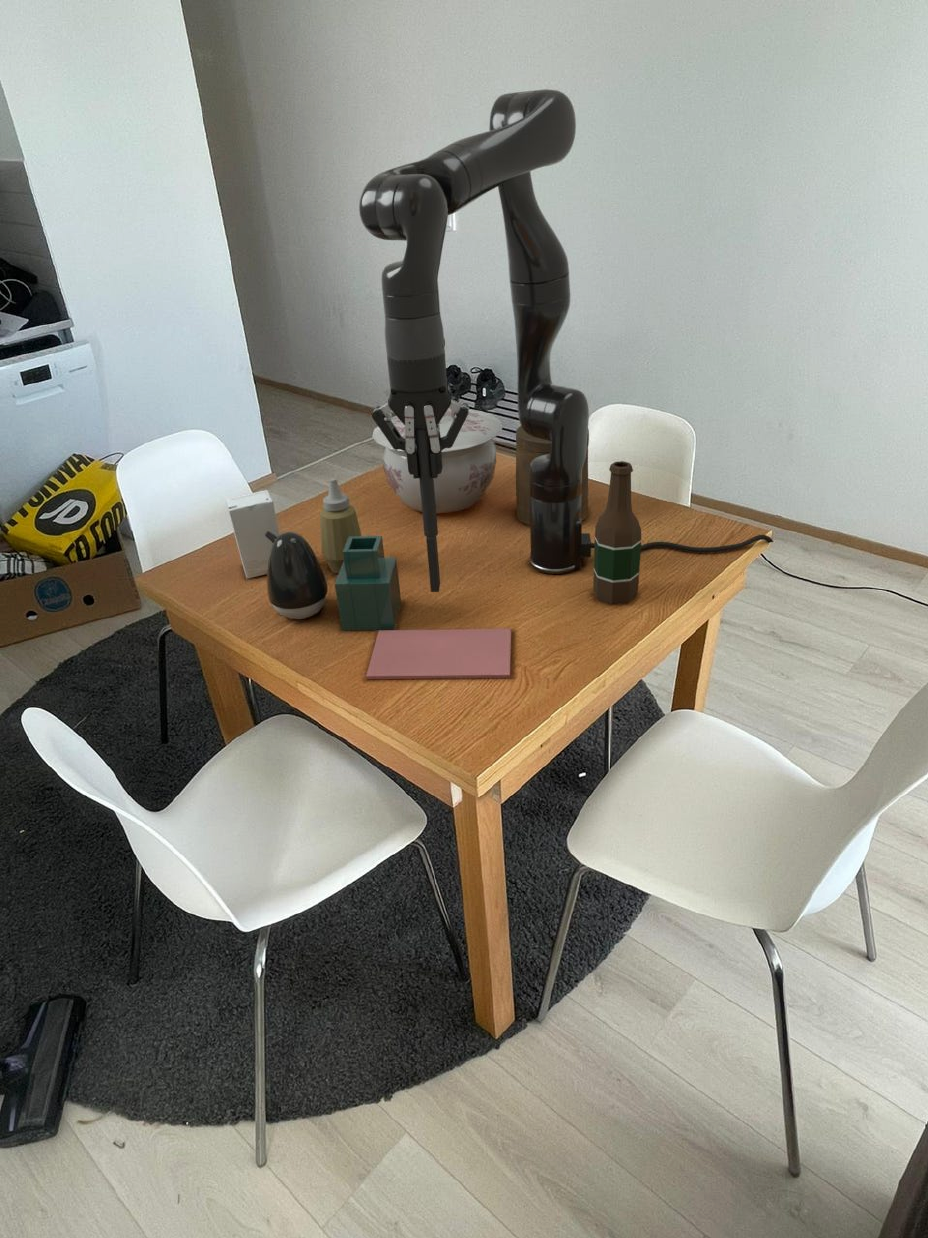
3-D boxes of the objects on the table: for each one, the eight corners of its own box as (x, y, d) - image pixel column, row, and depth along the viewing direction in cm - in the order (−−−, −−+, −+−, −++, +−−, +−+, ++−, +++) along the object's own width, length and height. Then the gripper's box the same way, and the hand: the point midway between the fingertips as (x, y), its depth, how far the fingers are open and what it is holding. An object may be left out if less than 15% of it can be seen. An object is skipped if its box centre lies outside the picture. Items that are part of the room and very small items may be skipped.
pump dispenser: (300, 591, 151) (286, 515, 143) (342, 605, 146) (330, 527, 138) (259, 616, 144) (242, 538, 136) (301, 632, 139) (286, 552, 131)
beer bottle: (610, 610, 139) (616, 477, 127) (583, 591, 145) (587, 461, 133) (647, 597, 142) (656, 466, 130) (619, 579, 148) (626, 451, 136)
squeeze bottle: (359, 578, 154) (346, 488, 145) (318, 576, 156) (303, 487, 146) (372, 558, 161) (360, 471, 151) (332, 556, 162) (319, 470, 153)
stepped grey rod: (442, 583, 126) (430, 424, 113) (441, 592, 123) (428, 430, 110) (429, 583, 126) (415, 424, 113) (428, 592, 124) (413, 431, 110)
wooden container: (577, 496, 180) (579, 396, 169) (595, 524, 168) (599, 419, 156) (510, 503, 179) (508, 403, 168) (524, 532, 167) (522, 427, 155)
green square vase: (401, 602, 146) (393, 530, 138) (394, 629, 138) (385, 555, 131) (351, 603, 146) (340, 532, 139) (341, 630, 139) (330, 556, 131)
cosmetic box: (283, 558, 163) (269, 488, 155) (288, 571, 158) (274, 499, 150) (240, 567, 161) (224, 496, 153) (244, 580, 156) (228, 508, 148)
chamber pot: (447, 468, 199) (441, 382, 188) (530, 497, 181) (529, 405, 170) (354, 504, 183) (341, 413, 172) (434, 541, 166) (426, 442, 155)
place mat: (511, 631, 136) (511, 628, 135) (510, 678, 125) (509, 674, 124) (379, 633, 137) (378, 630, 137) (366, 679, 126) (366, 676, 126)
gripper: (357, 359, 103) (373, 488, 113) (467, 355, 102) (474, 485, 111) (367, 344, 110) (381, 467, 119) (470, 340, 109) (476, 464, 118)
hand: (426, 475), depth 115 cm, fingers closed on stepped grey rod, 2 cm apart
